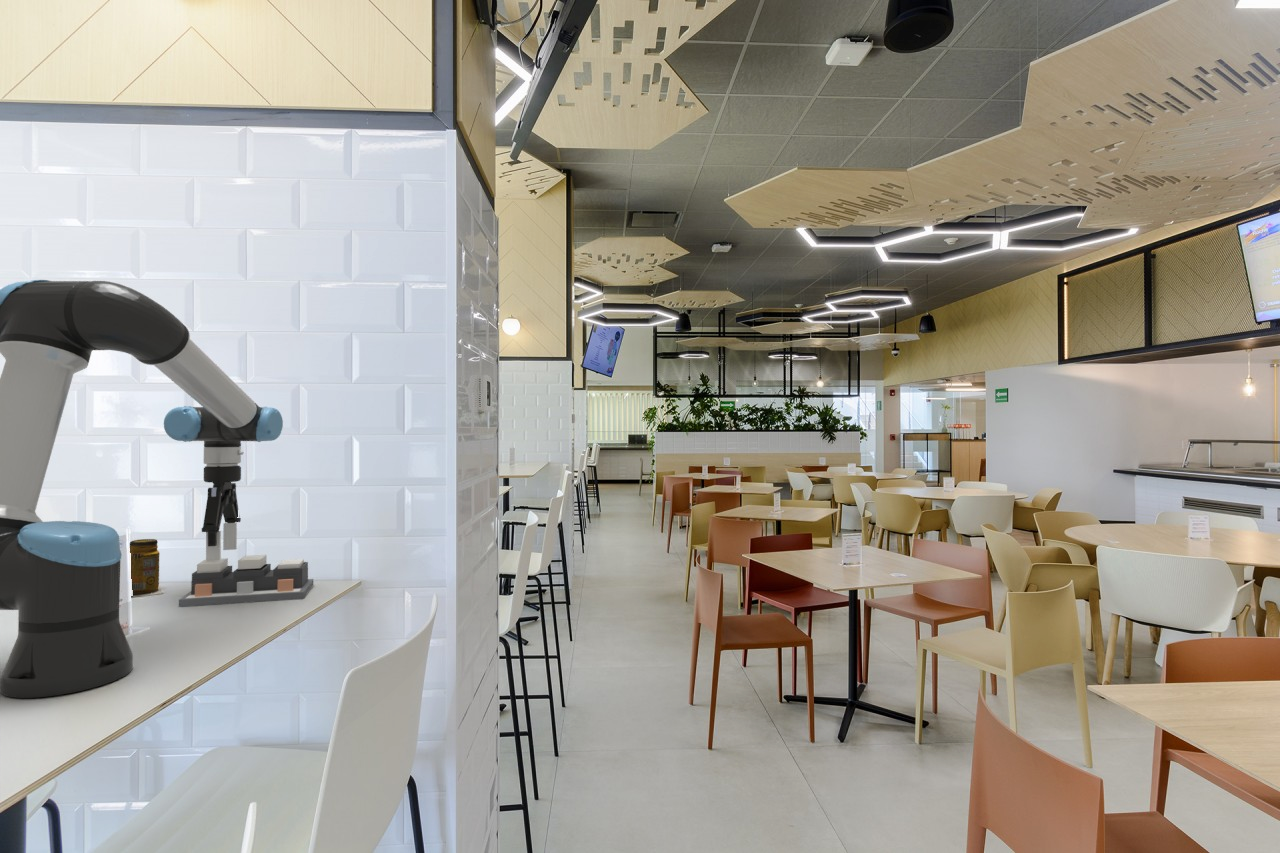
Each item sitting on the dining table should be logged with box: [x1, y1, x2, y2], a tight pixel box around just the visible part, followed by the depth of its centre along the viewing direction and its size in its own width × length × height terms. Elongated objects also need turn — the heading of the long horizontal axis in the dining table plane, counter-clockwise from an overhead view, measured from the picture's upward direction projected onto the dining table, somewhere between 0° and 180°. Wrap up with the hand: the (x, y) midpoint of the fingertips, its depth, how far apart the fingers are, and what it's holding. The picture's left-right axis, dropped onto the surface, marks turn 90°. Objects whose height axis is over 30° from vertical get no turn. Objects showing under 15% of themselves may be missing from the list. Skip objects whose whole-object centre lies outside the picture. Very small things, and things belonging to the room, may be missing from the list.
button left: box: [196, 557, 229, 573], centre depth 152 cm, size 4×6×2 cm
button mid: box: [237, 554, 267, 569], centre depth 154 cm, size 4×6×2 cm
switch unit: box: [178, 561, 314, 608], centre depth 153 cm, size 24×14×6 cm, turn 108°
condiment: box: [129, 538, 164, 598], centre depth 155 cm, size 7×8×12 cm
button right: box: [277, 558, 305, 569], centre depth 157 cm, size 4×6×2 cm
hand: (221, 554), depth 159 cm, fingers open, 13 cm apart
